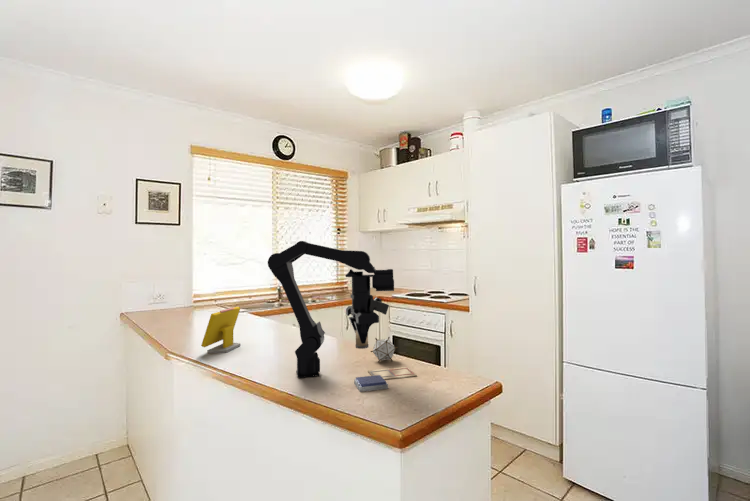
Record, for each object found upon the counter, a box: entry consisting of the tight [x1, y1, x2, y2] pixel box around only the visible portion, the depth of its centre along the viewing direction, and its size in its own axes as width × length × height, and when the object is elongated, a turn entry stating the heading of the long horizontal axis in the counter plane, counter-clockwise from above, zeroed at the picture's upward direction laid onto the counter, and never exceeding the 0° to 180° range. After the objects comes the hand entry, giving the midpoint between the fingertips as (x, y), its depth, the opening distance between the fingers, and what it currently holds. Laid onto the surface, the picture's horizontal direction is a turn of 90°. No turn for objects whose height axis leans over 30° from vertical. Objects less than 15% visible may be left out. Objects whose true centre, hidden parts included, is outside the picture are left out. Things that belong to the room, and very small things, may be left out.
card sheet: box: [367, 366, 418, 381], centre depth 119 cm, size 13×9×1 cm
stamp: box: [355, 330, 369, 350], centre depth 119 cm, size 4×4×7 cm
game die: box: [370, 336, 398, 363], centre depth 134 cm, size 9×8×10 cm
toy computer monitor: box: [201, 306, 241, 354], centre depth 153 cm, size 20×8×16 cm, turn 172°
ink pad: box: [353, 375, 389, 392], centre depth 109 cm, size 8×7×2 cm
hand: (361, 342), depth 119 cm, fingers closed on stamp, 4 cm apart
